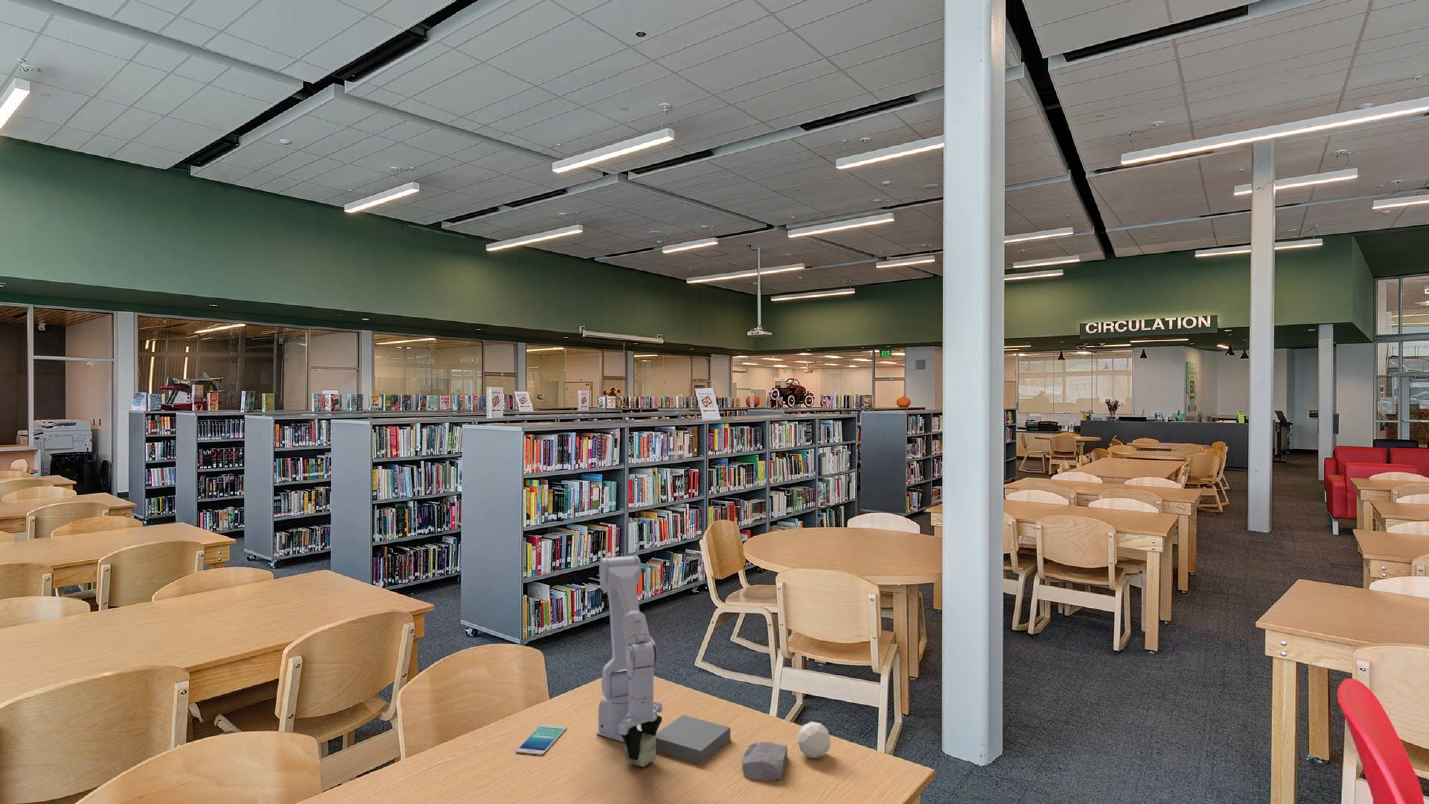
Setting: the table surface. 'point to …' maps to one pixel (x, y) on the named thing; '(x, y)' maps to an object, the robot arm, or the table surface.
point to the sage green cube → (644, 751)
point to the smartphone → (541, 739)
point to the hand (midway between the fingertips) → (640, 753)
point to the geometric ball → (814, 740)
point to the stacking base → (692, 738)
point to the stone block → (765, 761)
